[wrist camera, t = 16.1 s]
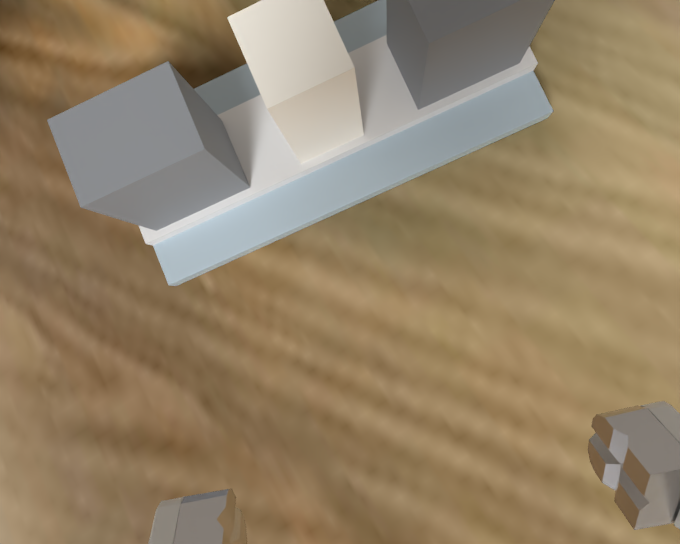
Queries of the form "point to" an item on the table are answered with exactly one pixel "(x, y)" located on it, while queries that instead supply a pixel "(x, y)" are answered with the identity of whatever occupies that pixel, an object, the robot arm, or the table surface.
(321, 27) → the block
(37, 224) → the table surface
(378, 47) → the twin block stand
